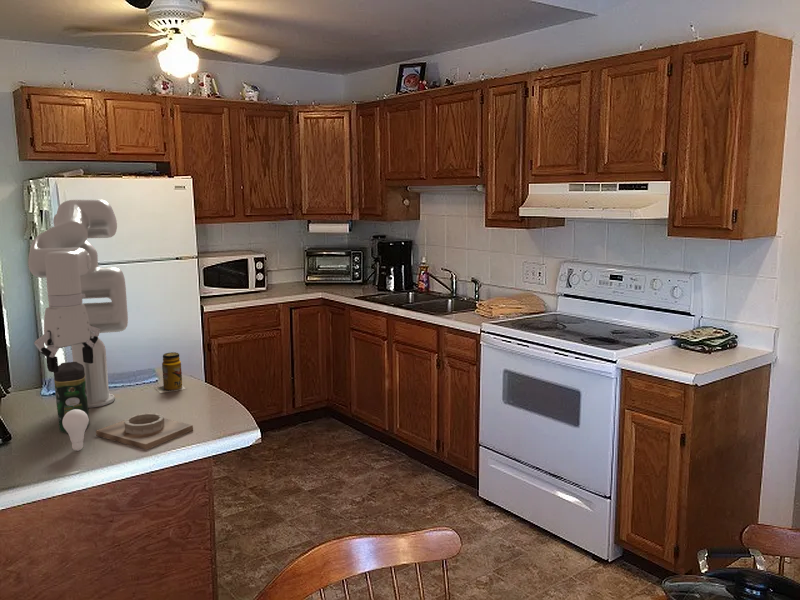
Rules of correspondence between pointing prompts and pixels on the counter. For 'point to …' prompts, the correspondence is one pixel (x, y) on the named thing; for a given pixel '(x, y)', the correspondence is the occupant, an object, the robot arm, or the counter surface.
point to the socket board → (145, 438)
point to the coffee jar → (70, 390)
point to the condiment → (171, 373)
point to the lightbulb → (76, 427)
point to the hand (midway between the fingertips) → (71, 367)
